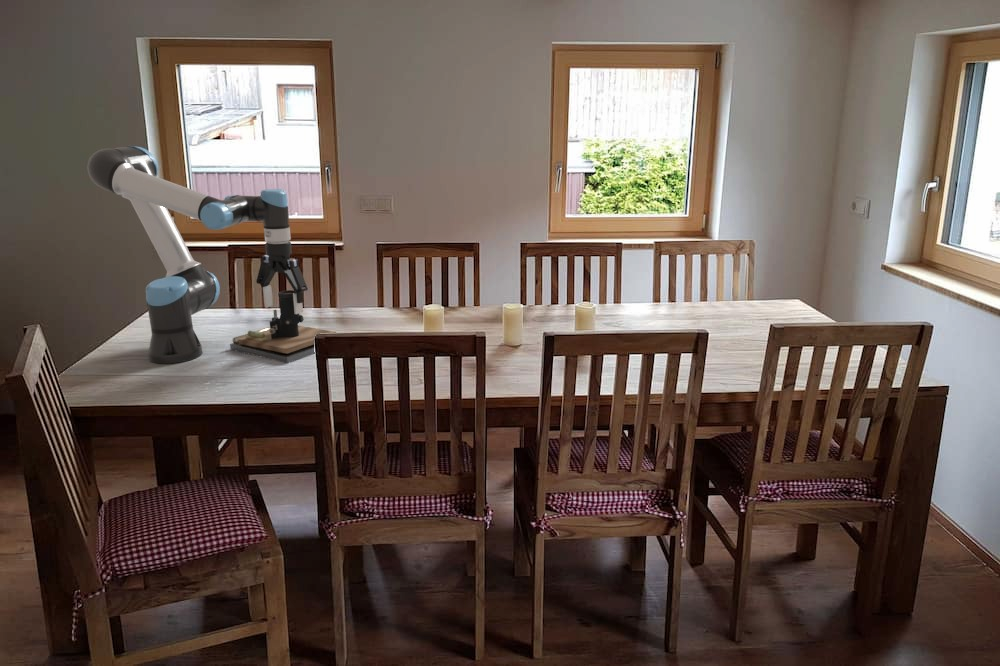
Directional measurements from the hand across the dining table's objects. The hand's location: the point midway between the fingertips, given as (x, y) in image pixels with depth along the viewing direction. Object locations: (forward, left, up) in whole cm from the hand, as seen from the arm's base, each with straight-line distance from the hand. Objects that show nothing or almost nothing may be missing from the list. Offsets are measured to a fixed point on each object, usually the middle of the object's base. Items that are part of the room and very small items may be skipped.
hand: (283, 309), depth 245 cm
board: (0, 0, -10) cm, 10 cm away
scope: (+1, 0, -8) cm, 8 cm away
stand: (-1, 0, -12) cm, 12 cm away
